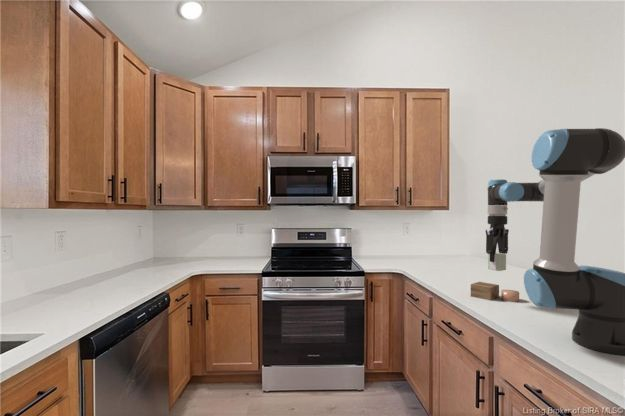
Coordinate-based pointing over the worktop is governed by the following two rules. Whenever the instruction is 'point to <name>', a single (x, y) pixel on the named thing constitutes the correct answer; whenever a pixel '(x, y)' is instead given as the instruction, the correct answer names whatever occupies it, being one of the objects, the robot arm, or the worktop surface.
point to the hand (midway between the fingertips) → (497, 268)
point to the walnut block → (485, 290)
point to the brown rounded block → (510, 295)
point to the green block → (499, 261)
